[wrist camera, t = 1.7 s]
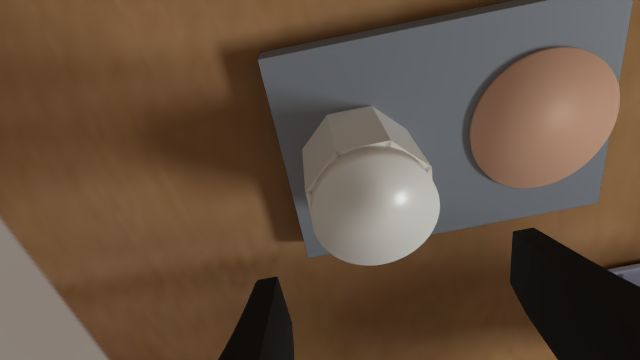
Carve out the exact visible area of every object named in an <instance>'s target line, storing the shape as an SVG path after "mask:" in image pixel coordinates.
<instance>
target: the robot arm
mask: <svg viewBox="0 0 640 360" xmlns="http://www.w3.org/2000/svg"><path fill="white" fill-rule="evenodd" d="M510 283H511V285H512V287H513V289H514V291H515V293H516V295H517V297H518V299H519V301H520V303H521V305H522V307H523V309H524V310H525V312H526V314H527V315H528V317H529V318H530V320H531V321H532V323H533V324H534V326H535V327H536V329H537V330H538V332H539V333H540V335H541V336H542V337H543V339H544V340H545V342H546V343H547V345H548V346H549V348H550V349H551V350H552V352H553V353H554V355H555V356H556V358H557V359H558V360H640V263H639V264H634V265H629V266H623V267H618V268H613V269H608V270H606V269H605V268H603V267H601V266H599V265H597V264H595V263H594V262H592V261H590V260H588V259H587V258H585V257H583V256H581V255H580V254H578V253H576V252H574V251H573V250H571V249H569V248H568V247H566V246H564V245H562V244H561V243H559V242H557V241H556V240H554V239H552V238H551V237H549V236H547V235H545V234H544V233H542V232H540V231H538V230H536V229H535V228H529V229H524V230H519V231H513V238H512V256H511V274H510ZM218 360H294V345H293V331H292V322H291V319H290V315H289V312H288V309H287V306H286V303H285V299H284V296H283V293H282V290H281V287H280V283H279V280H278V277H272V278H267V279H262V280H258V281H257V282H256V283H255V285H254V288H253V290H252V293H251V295H250V298H249V300H248V302H247V304H246V307H245V309H244V311H243V313H242V315H241V318H240V320H239V322H238V324H237V326H236V328H235V330H234V332H233V334H232V336H231V338H230V340H229V341H228V343H227V345H226V347H225V349H224V350H223V352H222V354H221V356H220V357H219V359H218Z"/></svg>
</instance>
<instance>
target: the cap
mask: <svg viewBox="0 0 640 360" xmlns="http://www.w3.org/2000/svg"><path fill="white" fill-rule="evenodd" d="M302 154H303V168H304V182H305V193H306V197H307V201H308V205H309V209H310V214H311V218H312V225H313V229H314V232H315V235H316V237H317V239H318V241H319V242H320V243H321V245H322V246H323V247H324V248H325V249H326V250H327V251H328V252H329V253H330V254H332V255H333V256H335V257H337V258H338V259H341V260H343V261H345V262H348V263H352V264H357V265H367V266H369V265H381V264H386V263H390V262H393V261H396V260H399V259H401V258H403V257H405V256H407V255H409V254H410V253H412V252H413V251H415V250H416V249H417V248H419V247H420V246H421V245H422V244H423V243H424V242H425V241H426V240H427V238H428V237H429V236H430V234H431V233H432V231H433V230H434V228H435V225H436V223H437V220H438V217H439V212H440V199H439V194H438V191H437V188H436V186H435V184H434V182H433V179H432V166H431V165H430V163H429V162H428V161H427V159H426V158H425V156H424V155H423V153H422V152H421V150H420V149H419V147H418V146H417V144H416V143H415V141H414V140H413V138H412V137H411V135H410V134H409V132H408V131H407V129H406V128H404V127H403V126H401V125H400V124H398V123H397V122H395V121H394V120H392V119H391V118H389V117H388V116H386V115H385V114H383V113H382V112H380V111H379V110H377V109H376V108H374V107H373V106H367V107H362V108H357V109H352V110H347V111H342V112H337V113H332V114H327V115H326V117H325V118H324V120H323V121H322V122H321V124H320V125H319V127H318V128H317V129H316V131H315V132H314V134H313V135H312V136H311V138H310V139H309V140H308V142H307V143H306V145H305V146H304V147H303V149H302Z"/></svg>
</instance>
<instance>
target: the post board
mask: <svg viewBox="0 0 640 360" xmlns="http://www.w3.org/2000/svg"><path fill="white" fill-rule="evenodd" d="M632 4H633V0H512V1H507V2H502V3H498V4H493V5H488V6H483V7H478V8H473V9H469V10H464V11H459V12H454V13H449V14H444V15H439V16H435V17H430V18H425V19H420V20H415V21H410V22H406V23H401V24H396V25H391V26H386V27H381V28H376V29H372V30H367V31H362V32H357V33H352V34H347V35H343V36H338V37H333V38H328V39H323V40H318V41H313V42H309V43H304V44H299V45H294V46H289V47H284V48H280V49H275V50H270V51H265V52H260V54H259V57H258V63H259V67H260V71H261V75H262V79H263V83H264V87H265V90H266V94H267V98H268V102H269V106H270V110H271V114H272V118H273V122H274V126H275V129H276V133H277V137H278V141H279V145H280V149H281V153H282V157H283V161H284V165H285V168H286V172H287V176H288V180H289V184H290V188H291V192H292V196H293V200H294V204H295V207H296V211H297V215H298V219H299V223H300V227H301V231H302V235H303V239H304V243H305V246H306V250H307V254H308V258H312V257H318V256H323V255H328V254H330V253H329V252H328V251H327V250H326V249H325V248H324V247H323V246H322V245H321V243H320V242H319V241H318V239H317V237H316V235H315V232H314V229H313V225H312V218H311V214H310V209H309V205H308V201H307V197H306V193H305V182H304V168H303V154H302V149H303V147H304V146H305V145H306V143H307V142H308V140H309V139H310V138H311V136H312V135H313V134H314V132H315V131H316V129H317V128H318V127H319V125H320V124H321V122H322V121H323V120H324V118H325V117H326V115H327V114H332V113H337V112H342V111H347V110H352V109H357V108H362V107H367V106H373V107H374V108H376V109H377V110H379V111H380V112H382V113H383V114H385V115H386V116H388V117H389V118H391V119H392V120H394V121H395V122H397V123H398V124H400V125H401V126H403V127H404V128H406V129H407V131H408V132H409V134H410V135H411V137H412V138H413V140H414V141H415V143H416V144H417V146H418V147H419V149H420V150H421V152H422V153H423V155H424V156H425V158H426V159H427V161H428V162H429V163H430V165H431V166H432V179H433V182H434V184H435V186H436V188H437V191H438V194H439V199H440V212H439V217H438V220H437V223H436V225H435V228H434V230H433V231H432V233H431V234H430V235H433V234H438V233H443V232H449V231H454V230H459V229H464V228H470V227H475V226H480V225H485V224H491V223H496V222H501V221H506V220H512V219H517V218H522V217H527V216H532V215H538V214H543V213H548V212H553V211H559V210H564V209H569V208H574V207H580V206H585V205H590V204H595V203H598V200H599V194H600V188H601V182H602V177H603V171H604V165H605V159H606V154H607V148H608V142H609V136H610V133H611V131H612V129H613V127H614V124H615V122H616V119H617V115H618V111H619V104H620V91H619V86H618V85H619V79H620V73H621V67H622V62H623V56H624V50H625V44H626V38H627V33H628V27H629V21H630V15H631V10H632Z"/></svg>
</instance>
